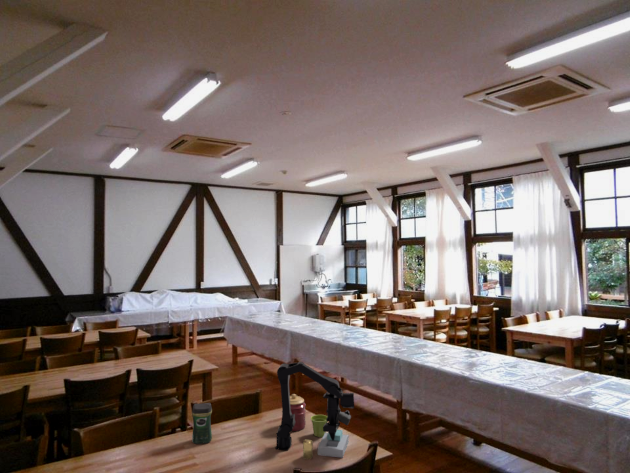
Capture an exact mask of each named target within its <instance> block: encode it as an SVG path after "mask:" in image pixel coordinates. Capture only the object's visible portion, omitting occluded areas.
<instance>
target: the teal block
mask: <svg viewBox="0 0 630 473" xmlns="http://www.w3.org/2000/svg"><path fill="white" fill-rule="evenodd" d="M327 433H328V434H327V440H332V439H331V437H330V434H329V432H327ZM343 434H344V432H343V429H337V431H336V434H335V439H334V440H336V441H340V440H341V438H342V435H343Z"/></svg>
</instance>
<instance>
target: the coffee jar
mask: <svg viewBox="0 0 630 473" xmlns="http://www.w3.org/2000/svg"><path fill="white" fill-rule="evenodd" d="M212 413H213V408H212V404H211V402H206V403H205V402H204V403H194V404H193V406H192V413H191V414H192V417H193V420H192V421H193V424H192V425H193V426H192V433H191V434H192V435H191V437H192V438H191V442H192V444H195V445H201V444H202V443H203V444H209V443H210V442H211V441H212V439H213V433H212V432H213V431H212V425H211V424H212V423H211V415H212Z"/></svg>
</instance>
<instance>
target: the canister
mask: <svg viewBox="0 0 630 473" xmlns="http://www.w3.org/2000/svg"><path fill="white" fill-rule="evenodd" d="M290 407H291V413H292V414H295V421H296V422H295V425H294V427H293V429H292V431H291V432H297V431H302V430H304V429H305V428H306V425H307V424H306V412H307V411H306V403H305V399H304V398H303V397H301V396H300V395H299V396H298V395H297V394H295V393H292V394H291V395H290ZM281 412H282V411H281ZM282 414H283V412H282V413H281V415H282Z"/></svg>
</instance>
